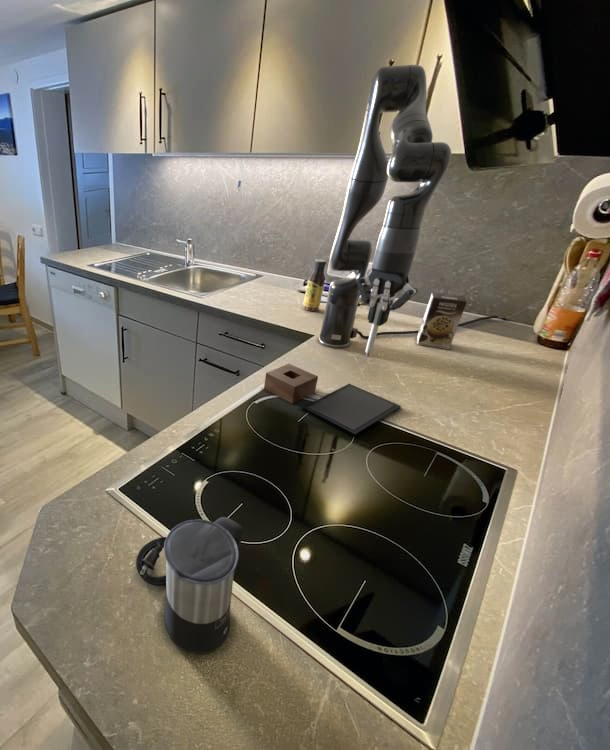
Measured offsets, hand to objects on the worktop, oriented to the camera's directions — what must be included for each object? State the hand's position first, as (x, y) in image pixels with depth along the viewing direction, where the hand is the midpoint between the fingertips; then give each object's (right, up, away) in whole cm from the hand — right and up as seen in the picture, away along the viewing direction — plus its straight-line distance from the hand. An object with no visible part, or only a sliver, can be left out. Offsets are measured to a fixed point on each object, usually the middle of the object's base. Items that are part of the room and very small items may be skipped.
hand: (376, 323), depth 98 cm
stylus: (0, -8, +4) cm, 9 cm away
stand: (-16, -16, +14) cm, 27 cm away
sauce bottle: (+13, +14, +71) cm, 74 cm away
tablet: (-3, -21, +6) cm, 22 cm away
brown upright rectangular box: (+41, -2, +40) cm, 57 cm away
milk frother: (-49, -45, -37) cm, 76 cm away
